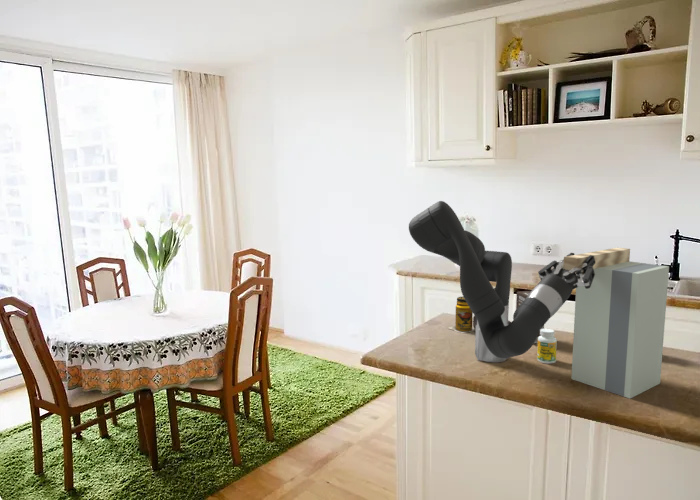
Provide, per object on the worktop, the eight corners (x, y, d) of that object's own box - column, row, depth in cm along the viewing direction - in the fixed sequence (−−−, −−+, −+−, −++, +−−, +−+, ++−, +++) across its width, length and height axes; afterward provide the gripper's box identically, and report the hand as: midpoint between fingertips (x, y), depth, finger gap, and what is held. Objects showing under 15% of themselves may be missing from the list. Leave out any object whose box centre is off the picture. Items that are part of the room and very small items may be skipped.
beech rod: (576, 272, 129) (576, 258, 129) (563, 270, 132) (563, 256, 132) (629, 261, 144) (630, 248, 144) (616, 259, 147) (617, 247, 146)
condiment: (464, 333, 186) (464, 301, 184) (446, 328, 193) (447, 296, 191) (477, 330, 190) (478, 298, 188) (460, 324, 197) (461, 293, 195)
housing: (629, 398, 131) (638, 273, 127) (571, 378, 144) (577, 264, 140) (660, 383, 140) (669, 266, 136) (602, 366, 153) (608, 258, 149)
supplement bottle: (555, 358, 160) (556, 328, 159) (556, 364, 155) (557, 333, 154) (536, 357, 162) (537, 327, 160) (537, 363, 157) (538, 332, 155)
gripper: (570, 290, 119) (607, 247, 126) (518, 280, 131) (554, 241, 138) (578, 315, 122) (613, 272, 130) (526, 303, 134) (561, 264, 141)
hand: (582, 256), depth 134 cm, fingers open, 4 cm apart
